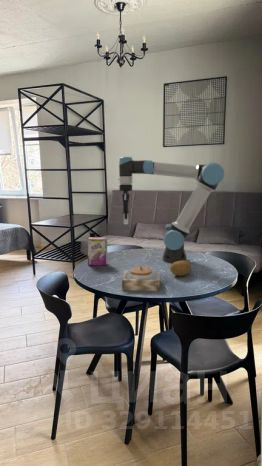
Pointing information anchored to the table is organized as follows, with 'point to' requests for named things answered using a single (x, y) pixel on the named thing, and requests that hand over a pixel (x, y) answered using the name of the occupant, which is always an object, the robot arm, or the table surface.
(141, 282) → the bay
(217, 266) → the table surface
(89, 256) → the candy bar box
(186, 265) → the potato
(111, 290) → the table surface
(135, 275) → the lidded jar
